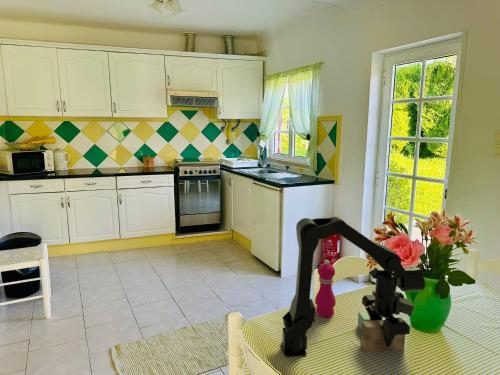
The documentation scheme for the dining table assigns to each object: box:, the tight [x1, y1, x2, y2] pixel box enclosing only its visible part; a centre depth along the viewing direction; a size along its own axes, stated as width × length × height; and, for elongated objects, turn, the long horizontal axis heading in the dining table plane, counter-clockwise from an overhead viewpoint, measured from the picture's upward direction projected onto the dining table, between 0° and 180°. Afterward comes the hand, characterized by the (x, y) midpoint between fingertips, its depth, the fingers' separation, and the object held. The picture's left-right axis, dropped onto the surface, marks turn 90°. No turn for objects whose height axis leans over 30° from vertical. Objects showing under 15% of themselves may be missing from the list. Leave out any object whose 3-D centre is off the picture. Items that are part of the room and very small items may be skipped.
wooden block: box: [360, 319, 406, 353], centre depth 105 cm, size 12×4×8 cm, turn 96°
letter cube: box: [357, 310, 371, 331], centre depth 115 cm, size 5×5×5 cm
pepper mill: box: [314, 259, 336, 318], centre depth 124 cm, size 7×7×20 cm
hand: (382, 339), depth 105 cm, fingers open, 6 cm apart
